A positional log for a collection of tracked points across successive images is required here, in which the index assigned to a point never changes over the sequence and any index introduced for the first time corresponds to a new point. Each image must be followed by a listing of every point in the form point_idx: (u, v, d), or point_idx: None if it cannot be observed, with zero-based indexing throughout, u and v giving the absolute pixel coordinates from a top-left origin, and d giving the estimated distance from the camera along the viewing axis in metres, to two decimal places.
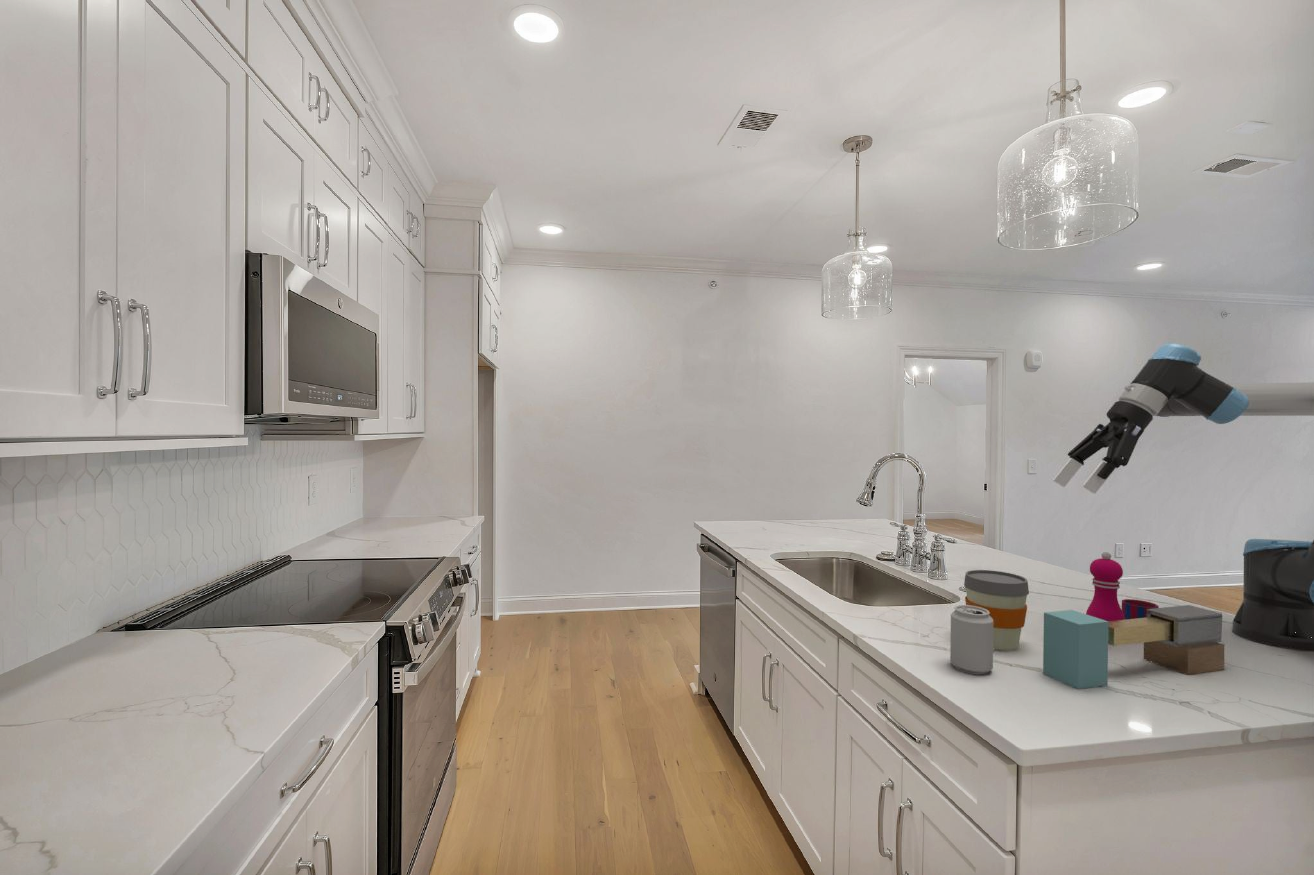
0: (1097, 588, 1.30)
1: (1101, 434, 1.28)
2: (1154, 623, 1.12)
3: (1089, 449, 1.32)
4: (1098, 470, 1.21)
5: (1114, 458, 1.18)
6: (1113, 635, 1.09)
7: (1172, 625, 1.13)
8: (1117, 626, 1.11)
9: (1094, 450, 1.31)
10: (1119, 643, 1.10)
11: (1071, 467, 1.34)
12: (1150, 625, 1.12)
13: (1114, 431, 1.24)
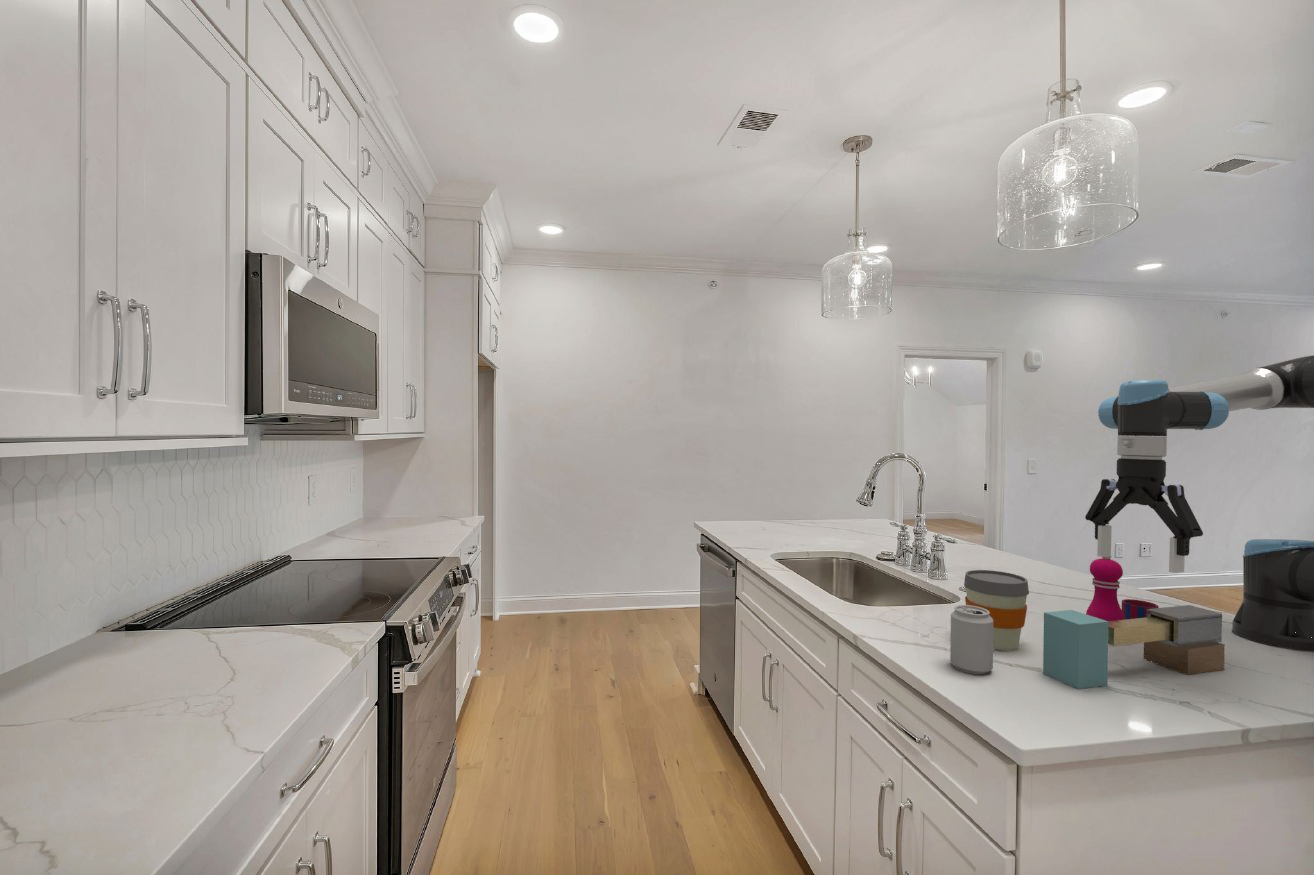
0: (1097, 588, 1.30)
1: (1125, 496, 1.15)
2: (1154, 623, 1.12)
3: (1115, 511, 1.18)
4: (1175, 549, 1.06)
5: (1191, 535, 1.04)
6: (1113, 635, 1.09)
7: (1172, 625, 1.13)
8: (1117, 626, 1.11)
9: (1119, 509, 1.18)
10: (1119, 643, 1.10)
11: (1105, 534, 1.20)
12: (1150, 625, 1.12)
13: (1148, 494, 1.11)
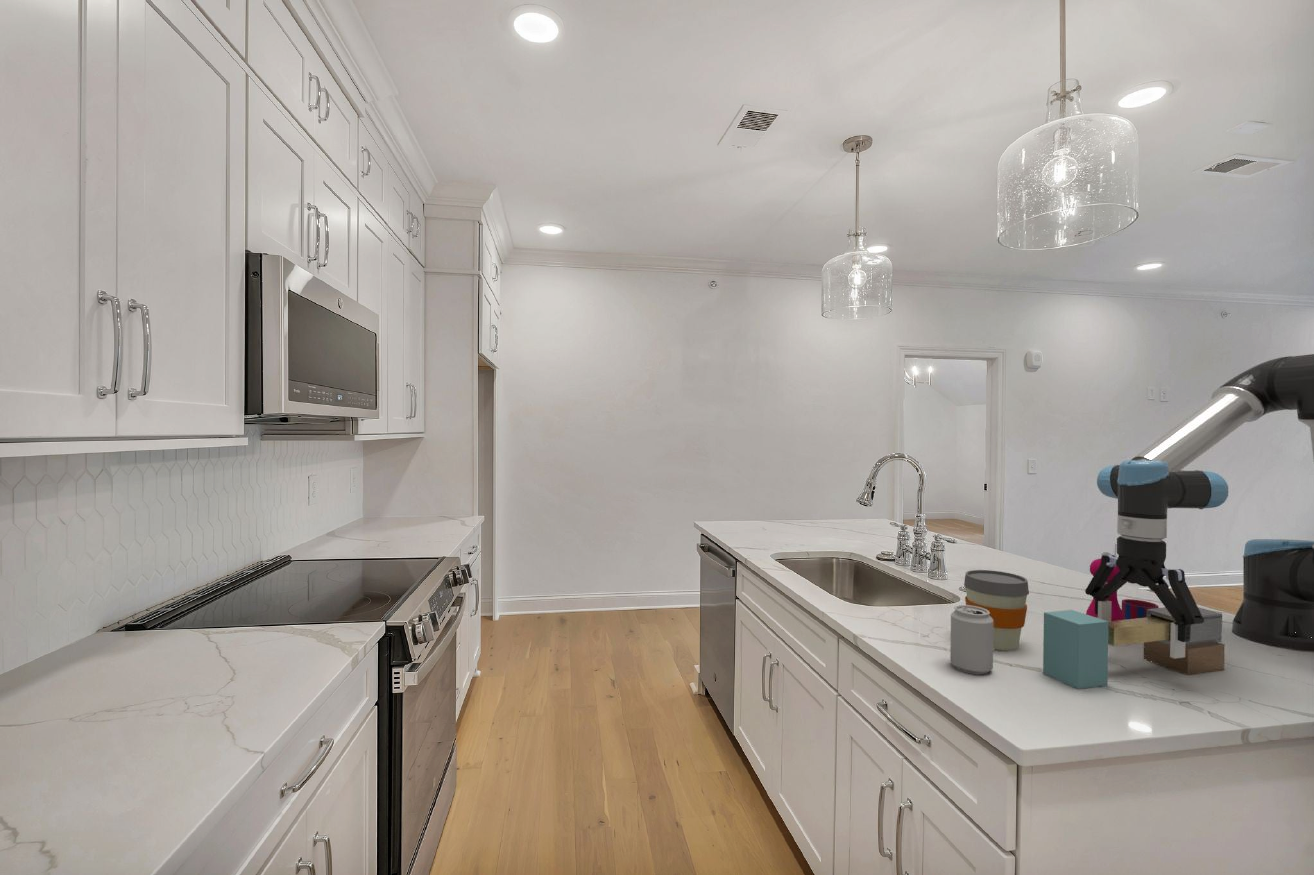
0: None
1: (1125, 575, 1.15)
2: (1154, 623, 1.12)
3: (1115, 588, 1.18)
4: (1176, 634, 1.06)
5: (1192, 622, 1.03)
6: (1113, 635, 1.09)
7: None
8: (1117, 626, 1.11)
9: (1119, 586, 1.18)
10: (1119, 643, 1.10)
11: (1106, 610, 1.19)
12: (1150, 625, 1.12)
13: (1149, 577, 1.10)
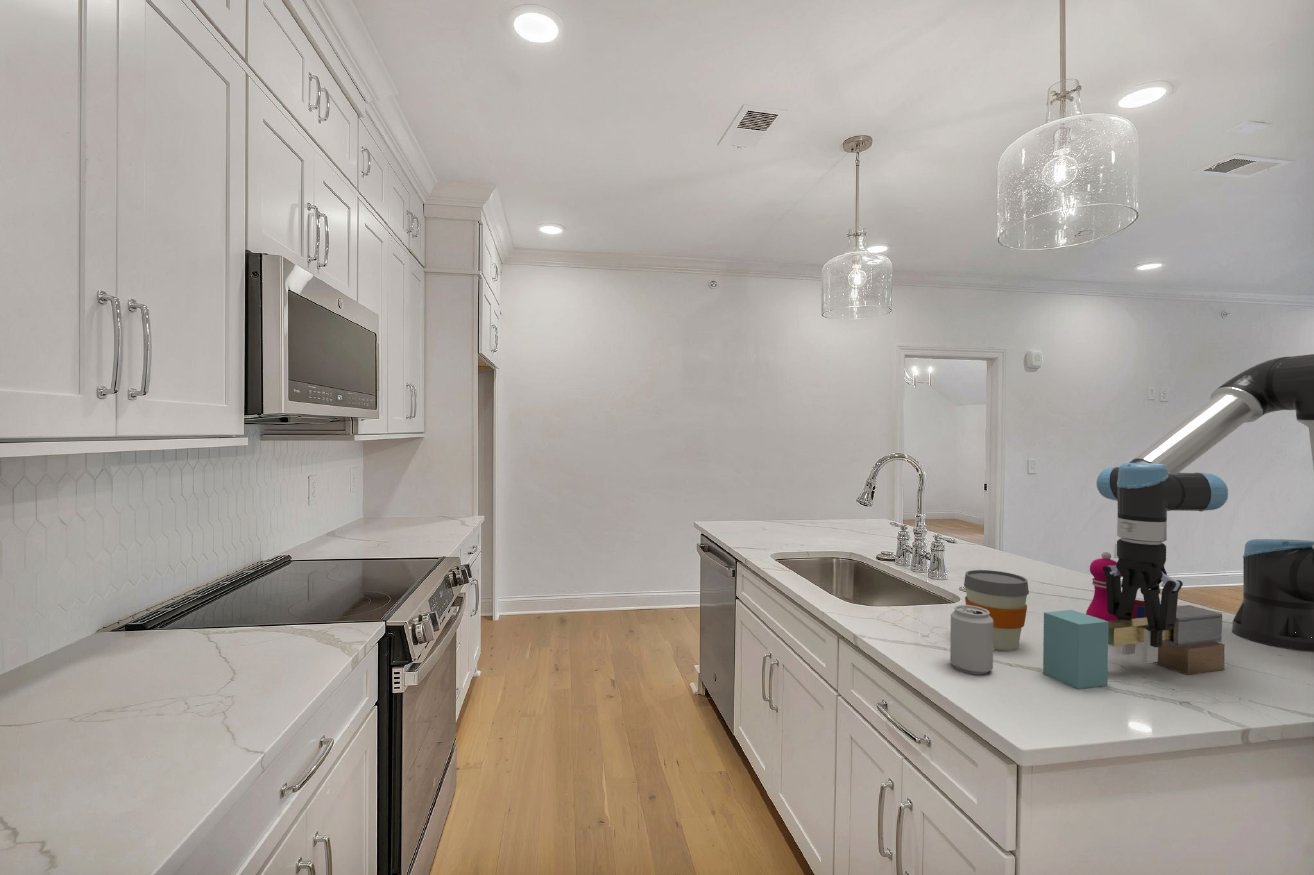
0: (1097, 588, 1.30)
1: (1130, 579, 1.14)
2: None
3: (1130, 600, 1.15)
4: (1149, 640, 1.11)
5: (1162, 629, 1.08)
6: (1113, 635, 1.09)
7: None
8: (1117, 626, 1.11)
9: (1133, 597, 1.15)
10: (1119, 643, 1.10)
11: None
12: None
13: (1146, 582, 1.11)
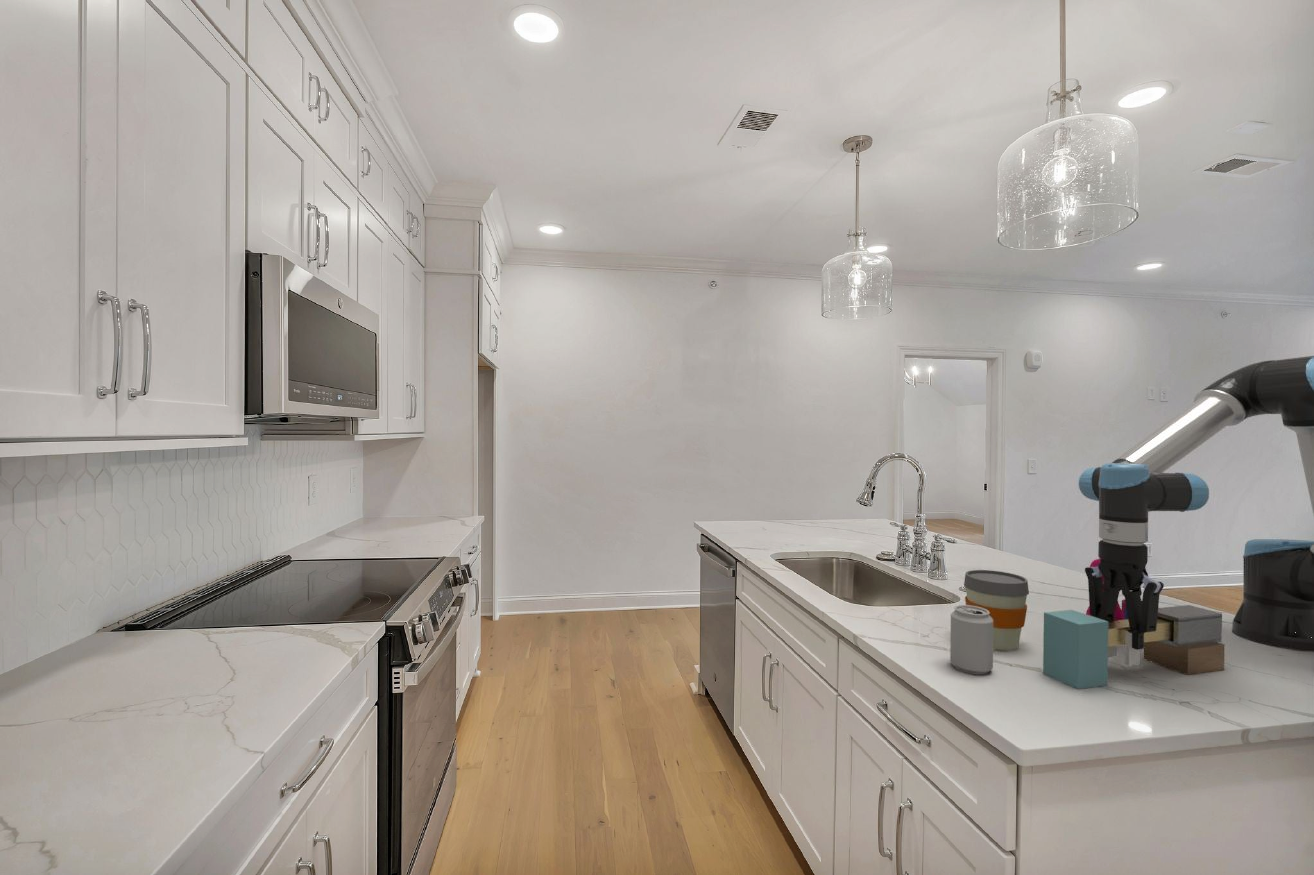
0: None
1: (1111, 581, 1.13)
2: None
3: (1112, 601, 1.14)
4: (1130, 642, 1.10)
5: (1143, 631, 1.07)
6: None
7: None
8: None
9: (1115, 599, 1.14)
10: None
11: None
12: None
13: (1127, 583, 1.10)
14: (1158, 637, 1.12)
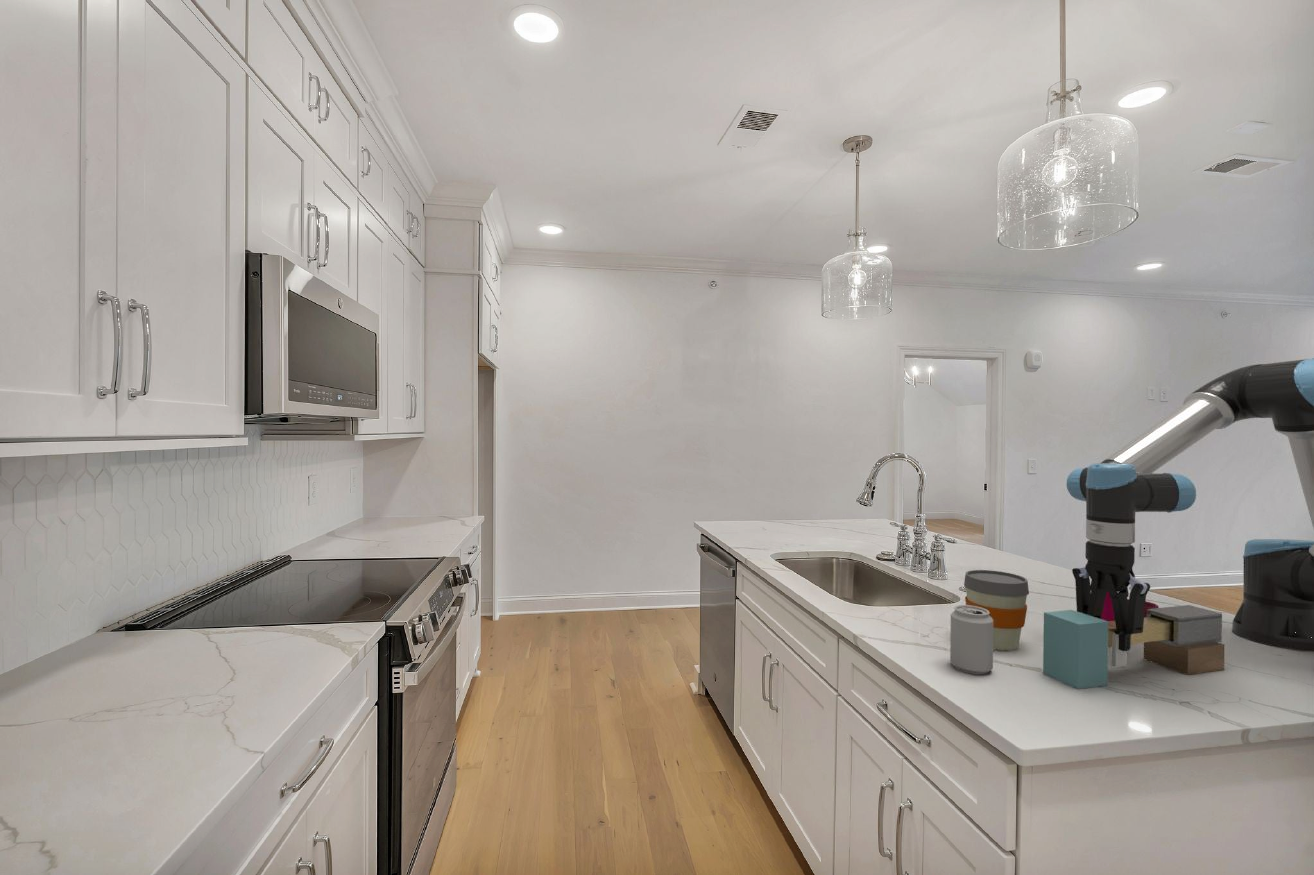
0: None
1: (1098, 582, 1.12)
2: None
3: (1099, 603, 1.13)
4: (1117, 644, 1.09)
5: (1130, 632, 1.06)
6: None
7: None
8: None
9: (1102, 600, 1.13)
10: None
11: None
12: None
13: (1114, 585, 1.09)
14: (1145, 639, 1.11)
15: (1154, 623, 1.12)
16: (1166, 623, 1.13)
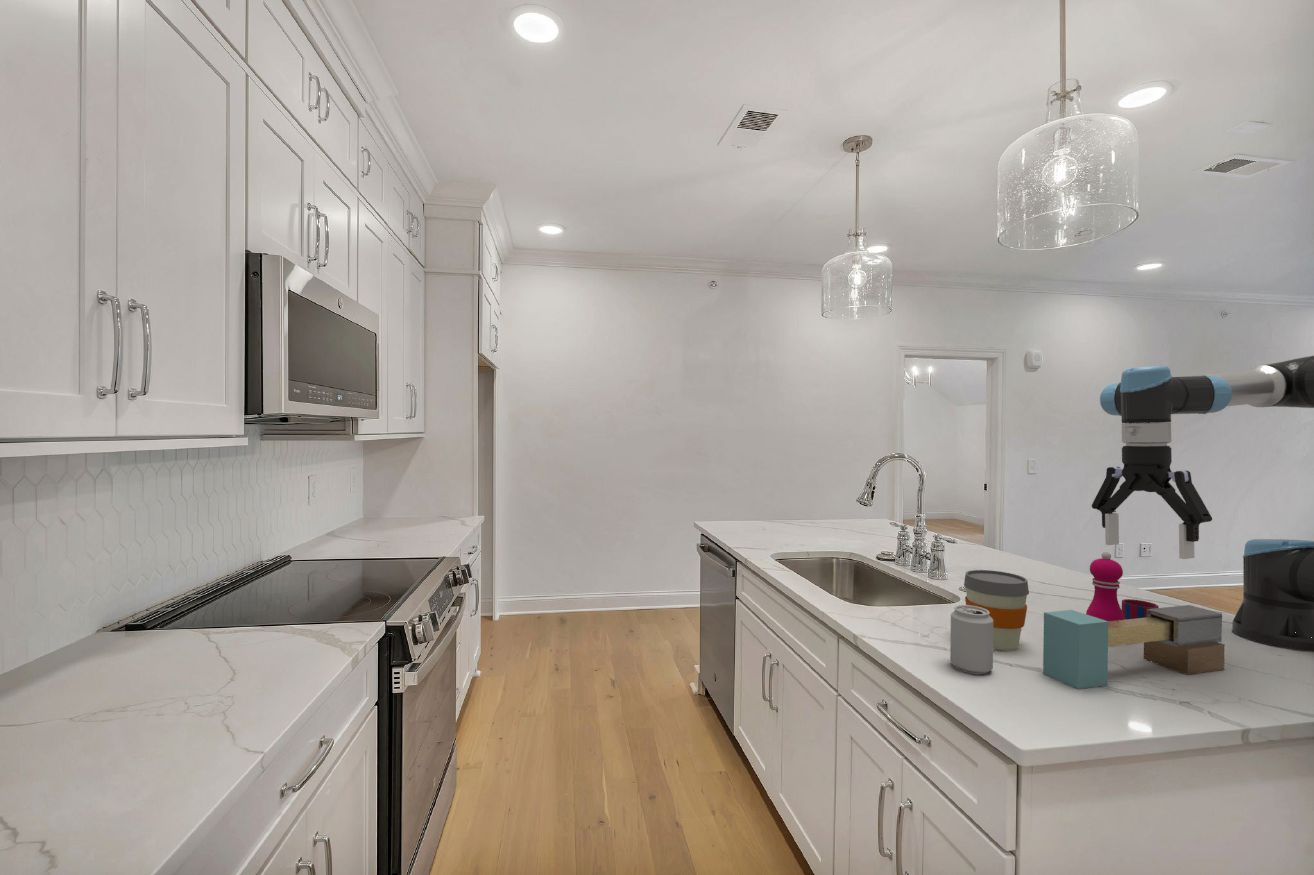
0: (1097, 588, 1.30)
1: (1131, 483, 1.14)
2: (1123, 626, 1.10)
3: (1121, 499, 1.18)
4: (1185, 535, 1.06)
5: (1200, 520, 1.03)
6: None
7: (1141, 628, 1.11)
8: None
9: (1125, 497, 1.18)
10: None
11: (1113, 522, 1.19)
12: (1118, 628, 1.10)
13: (1155, 481, 1.10)
14: (1145, 639, 1.11)
15: (1154, 623, 1.12)
16: (1166, 623, 1.13)
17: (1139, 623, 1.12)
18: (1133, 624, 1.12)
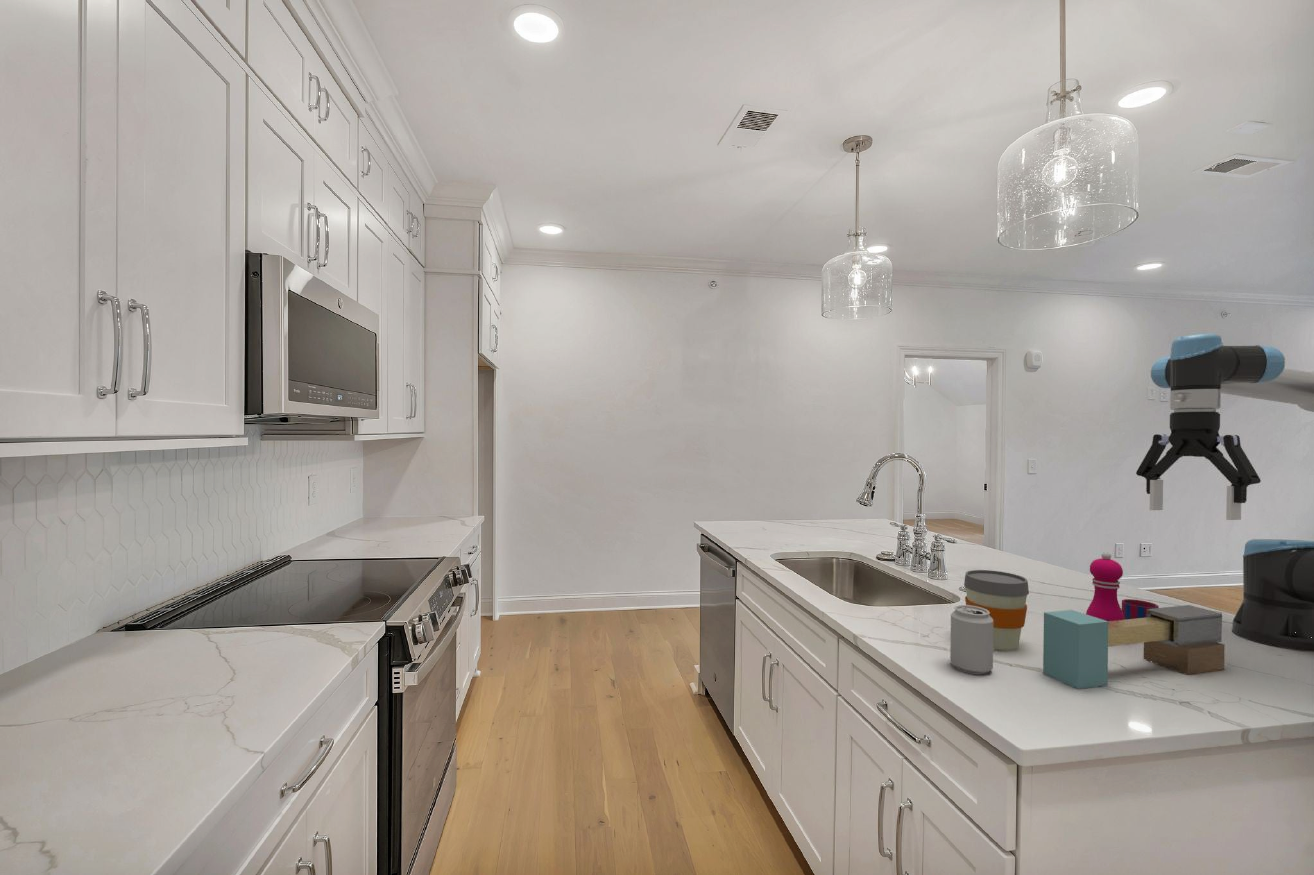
0: (1097, 588, 1.30)
1: (1179, 449, 1.18)
2: (1123, 626, 1.10)
3: (1167, 465, 1.21)
4: (1233, 497, 1.09)
5: (1249, 482, 1.07)
6: None
7: (1141, 628, 1.11)
8: None
9: (1171, 463, 1.21)
10: None
11: (1157, 488, 1.23)
12: (1118, 628, 1.10)
13: (1204, 446, 1.13)
14: (1145, 639, 1.11)
15: (1154, 623, 1.12)
16: (1166, 623, 1.13)
17: (1139, 623, 1.12)
18: (1133, 624, 1.12)
